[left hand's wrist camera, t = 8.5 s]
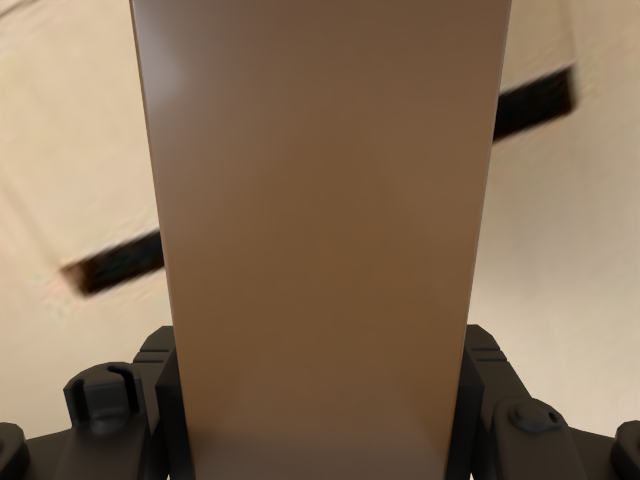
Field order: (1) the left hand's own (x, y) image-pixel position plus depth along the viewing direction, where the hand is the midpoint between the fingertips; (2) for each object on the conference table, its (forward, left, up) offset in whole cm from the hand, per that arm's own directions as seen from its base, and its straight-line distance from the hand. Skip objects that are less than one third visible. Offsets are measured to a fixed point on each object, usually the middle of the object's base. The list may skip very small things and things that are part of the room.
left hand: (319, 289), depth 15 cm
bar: (+8, +2, -1) cm, 9 cm away
